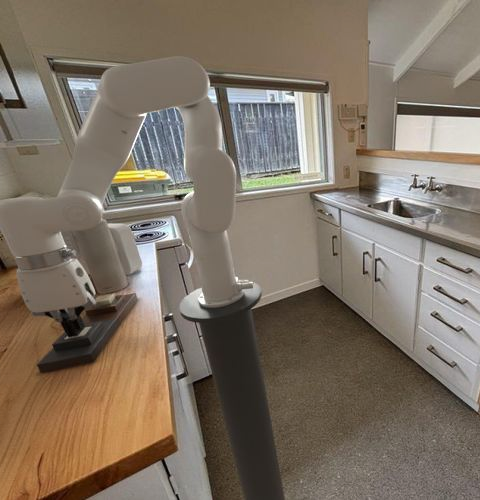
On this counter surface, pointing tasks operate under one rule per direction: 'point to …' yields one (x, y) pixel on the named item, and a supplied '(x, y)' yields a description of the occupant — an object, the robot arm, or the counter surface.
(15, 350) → the counter surface
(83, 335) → the high key
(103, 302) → the low key
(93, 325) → the black key block
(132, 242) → the rounded white slab
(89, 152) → the robot arm
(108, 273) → the thermos bottle
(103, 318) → the walnut key block
